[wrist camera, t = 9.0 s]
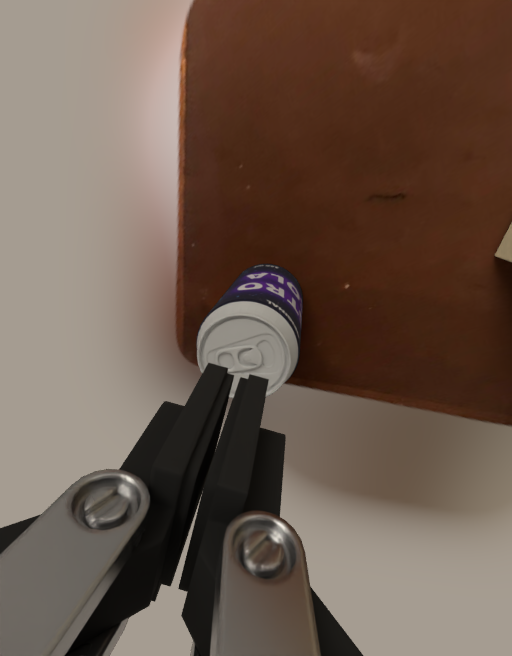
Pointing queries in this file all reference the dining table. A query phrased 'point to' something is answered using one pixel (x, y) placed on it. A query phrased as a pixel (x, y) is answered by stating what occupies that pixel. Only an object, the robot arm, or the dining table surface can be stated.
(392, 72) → the dining table surface
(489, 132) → the dining table surface
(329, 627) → the robot arm
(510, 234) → the cupboard door
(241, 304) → the beverage can
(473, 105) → the dining table surface
